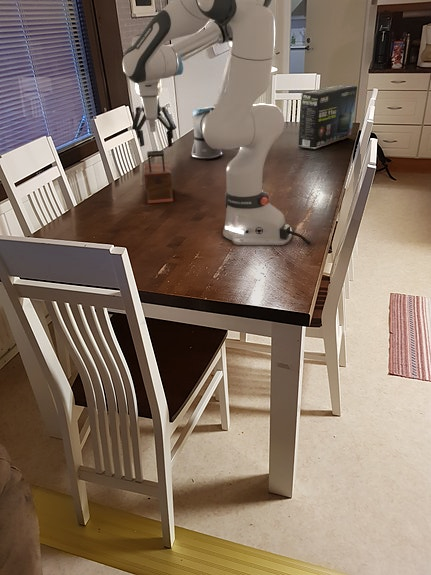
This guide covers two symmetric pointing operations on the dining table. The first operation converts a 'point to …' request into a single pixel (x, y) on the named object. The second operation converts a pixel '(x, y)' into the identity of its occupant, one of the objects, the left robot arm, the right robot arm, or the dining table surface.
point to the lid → (156, 165)
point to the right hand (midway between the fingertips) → (152, 128)
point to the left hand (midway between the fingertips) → (156, 146)
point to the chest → (159, 189)
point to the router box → (326, 115)
